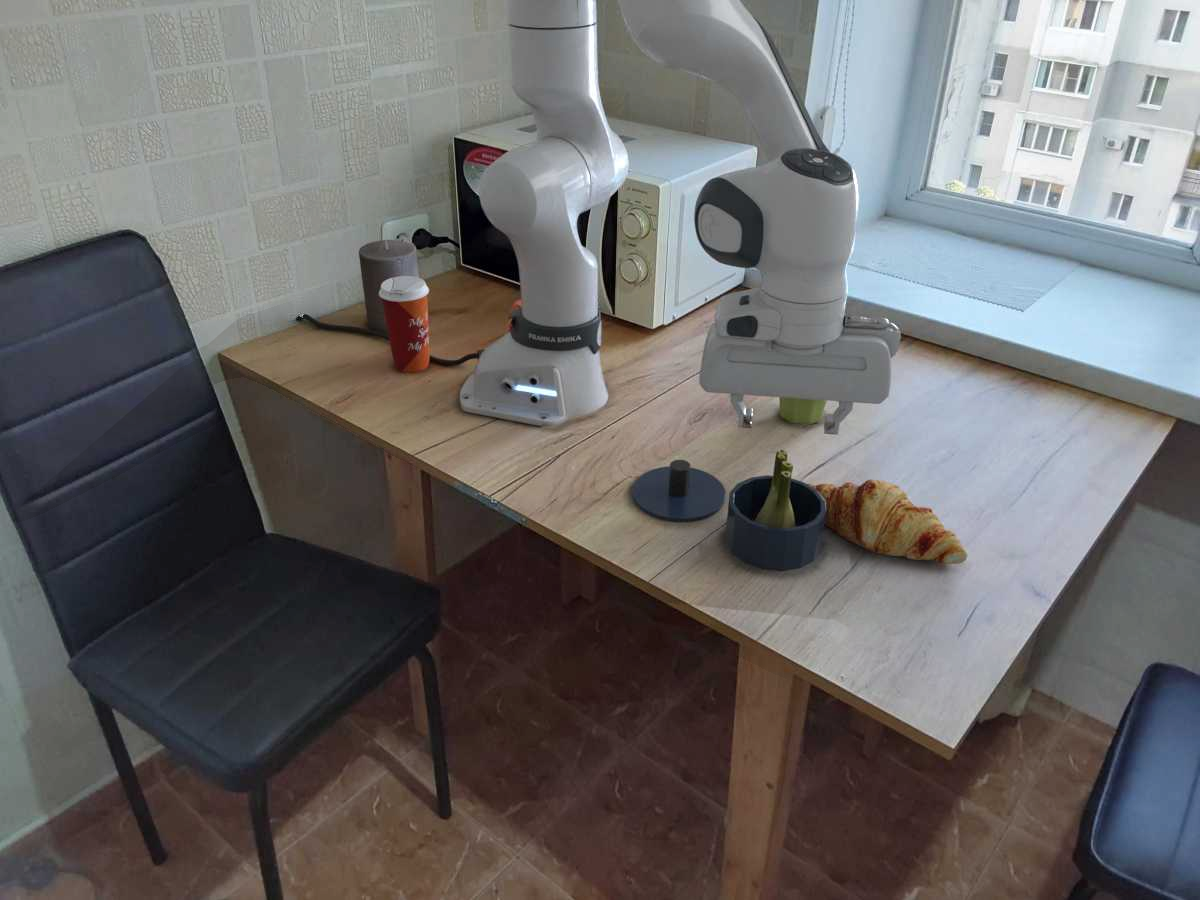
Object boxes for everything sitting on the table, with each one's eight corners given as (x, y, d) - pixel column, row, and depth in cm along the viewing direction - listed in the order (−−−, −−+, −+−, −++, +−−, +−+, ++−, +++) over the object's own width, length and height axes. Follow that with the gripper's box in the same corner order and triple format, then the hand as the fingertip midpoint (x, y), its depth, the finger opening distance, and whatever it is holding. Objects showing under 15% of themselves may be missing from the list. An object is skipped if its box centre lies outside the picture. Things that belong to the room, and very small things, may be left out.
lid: (626, 520, 120) (626, 486, 117) (637, 469, 130) (638, 436, 127) (722, 530, 118) (725, 496, 116) (727, 477, 128) (729, 444, 126)
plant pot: (833, 436, 137) (841, 382, 133) (766, 429, 139) (772, 375, 134) (833, 404, 145) (840, 352, 141) (770, 398, 147) (775, 347, 142)
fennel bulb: (783, 562, 113) (794, 476, 106) (744, 549, 115) (752, 464, 108) (799, 536, 117) (811, 452, 110) (761, 524, 119) (771, 441, 113)
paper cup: (427, 377, 152) (419, 294, 145) (381, 373, 153) (370, 291, 146) (442, 355, 159) (434, 275, 152) (397, 352, 160) (388, 272, 153)
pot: (723, 569, 112) (726, 525, 109) (727, 513, 121) (731, 471, 118) (820, 578, 110) (827, 534, 107) (817, 522, 120) (824, 479, 116)
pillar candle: (356, 324, 169) (344, 242, 161) (399, 307, 176) (390, 228, 168) (392, 340, 164) (382, 256, 156) (435, 322, 170) (427, 240, 162)
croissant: (965, 579, 116) (989, 517, 114) (948, 587, 107) (973, 520, 106) (805, 514, 126) (826, 457, 125) (778, 517, 118) (799, 455, 116)
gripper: (900, 307, 101) (880, 421, 108) (705, 296, 104) (698, 408, 111) (907, 332, 96) (886, 450, 103) (701, 320, 99) (695, 436, 106)
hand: (787, 428), depth 107 cm, fingers open, 8 cm apart
